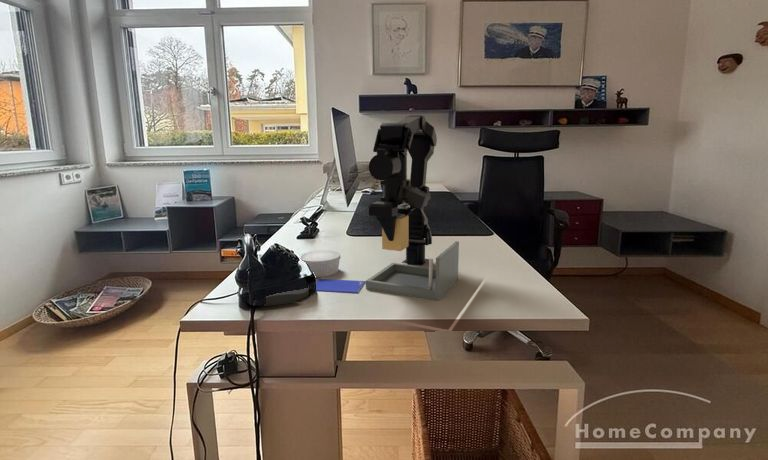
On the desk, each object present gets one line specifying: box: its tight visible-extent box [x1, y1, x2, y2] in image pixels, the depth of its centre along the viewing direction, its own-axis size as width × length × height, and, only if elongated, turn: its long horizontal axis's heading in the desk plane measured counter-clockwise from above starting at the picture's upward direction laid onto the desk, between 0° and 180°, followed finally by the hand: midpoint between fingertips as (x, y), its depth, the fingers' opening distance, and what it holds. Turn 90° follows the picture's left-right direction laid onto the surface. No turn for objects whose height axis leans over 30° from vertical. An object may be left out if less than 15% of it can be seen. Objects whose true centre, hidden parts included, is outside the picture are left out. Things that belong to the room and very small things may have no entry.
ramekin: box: [299, 249, 341, 279], centre depth 118 cm, size 11×11×5 cm
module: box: [381, 214, 409, 252], centre depth 106 cm, size 5×5×8 cm
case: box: [365, 240, 460, 301], centre depth 107 cm, size 16×19×11 cm
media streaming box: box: [263, 286, 310, 307], centre depth 104 cm, size 15×15×3 cm
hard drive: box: [314, 278, 366, 294], centre depth 107 cm, size 2×8×12 cm
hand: (395, 238), depth 106 cm, fingers closed on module, 5 cm apart
